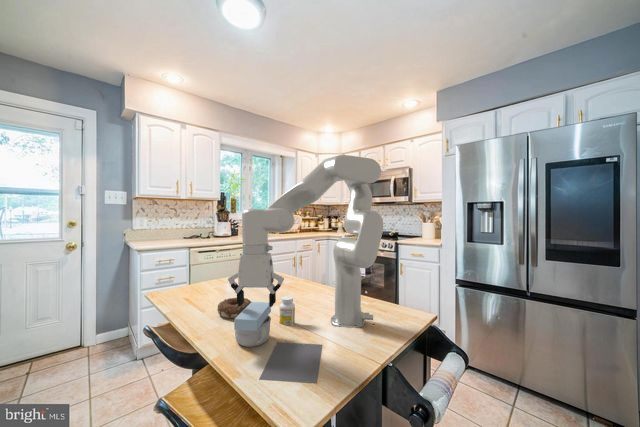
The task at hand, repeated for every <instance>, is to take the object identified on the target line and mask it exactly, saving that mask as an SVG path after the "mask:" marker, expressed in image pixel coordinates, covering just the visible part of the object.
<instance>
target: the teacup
mask: <svg viewBox="0 0 640 427" xmlns="http://www.w3.org/2000/svg"><path fill="white" fill-rule="evenodd" d="M271 320H272V317H271V316H270V314H269V315H268V316H267V318H266V319H265V320H264V322H263V323H262V325H261V326H260V327H259V329H258V330H257V331H251V330H234V336H235V337H234V338H235V341H236V342H237V343H238V344H239V345H241V346H243V347H246V348H252V347H258V346H260V345H263V344H264V343H266V342H267V340H268V339H269V336H270V330H271Z"/></svg>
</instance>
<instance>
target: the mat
mask: <svg viewBox="0 0 640 427" xmlns="http://www.w3.org/2000/svg"><path fill="white" fill-rule="evenodd" d="M322 351H323V344H321V343H320V344H316V343H301V342H300V343H299V342H283V341H281V342H280V341H278V342H277V341H276V343H275V346H274V348H273V350H272V352H271V353H270V356H269V358H268V360H267V362H266V364H265V366H264V367H263V368H264V369H263V370H262V372H261V375H259V381H260V380H261V381H262V380H263V381H274V382H275V381H276V382H291V383H306V384H318V379H319V371H320V363H321V358H322Z"/></svg>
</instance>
